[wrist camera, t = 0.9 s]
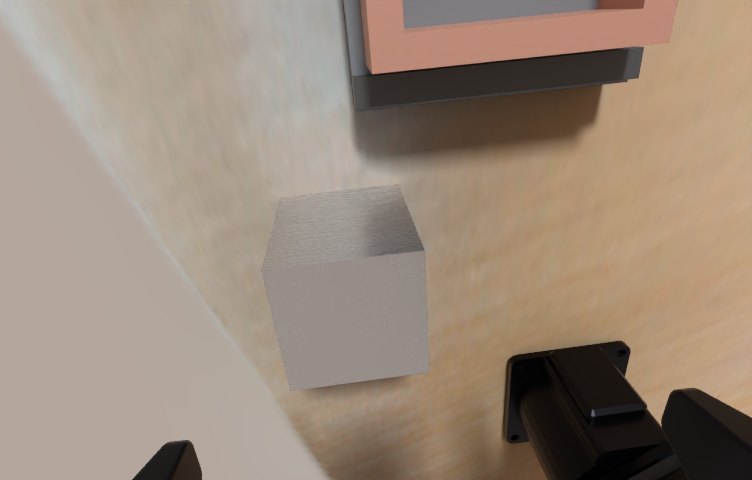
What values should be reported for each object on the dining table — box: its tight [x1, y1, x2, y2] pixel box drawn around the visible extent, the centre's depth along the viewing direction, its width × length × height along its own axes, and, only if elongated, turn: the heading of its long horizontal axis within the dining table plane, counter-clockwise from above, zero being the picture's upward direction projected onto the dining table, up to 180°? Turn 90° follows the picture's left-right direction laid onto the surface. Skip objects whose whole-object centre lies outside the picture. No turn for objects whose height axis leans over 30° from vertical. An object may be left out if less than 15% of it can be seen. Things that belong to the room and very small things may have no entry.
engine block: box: [261, 184, 430, 391], centre depth 17 cm, size 5×5×6 cm
